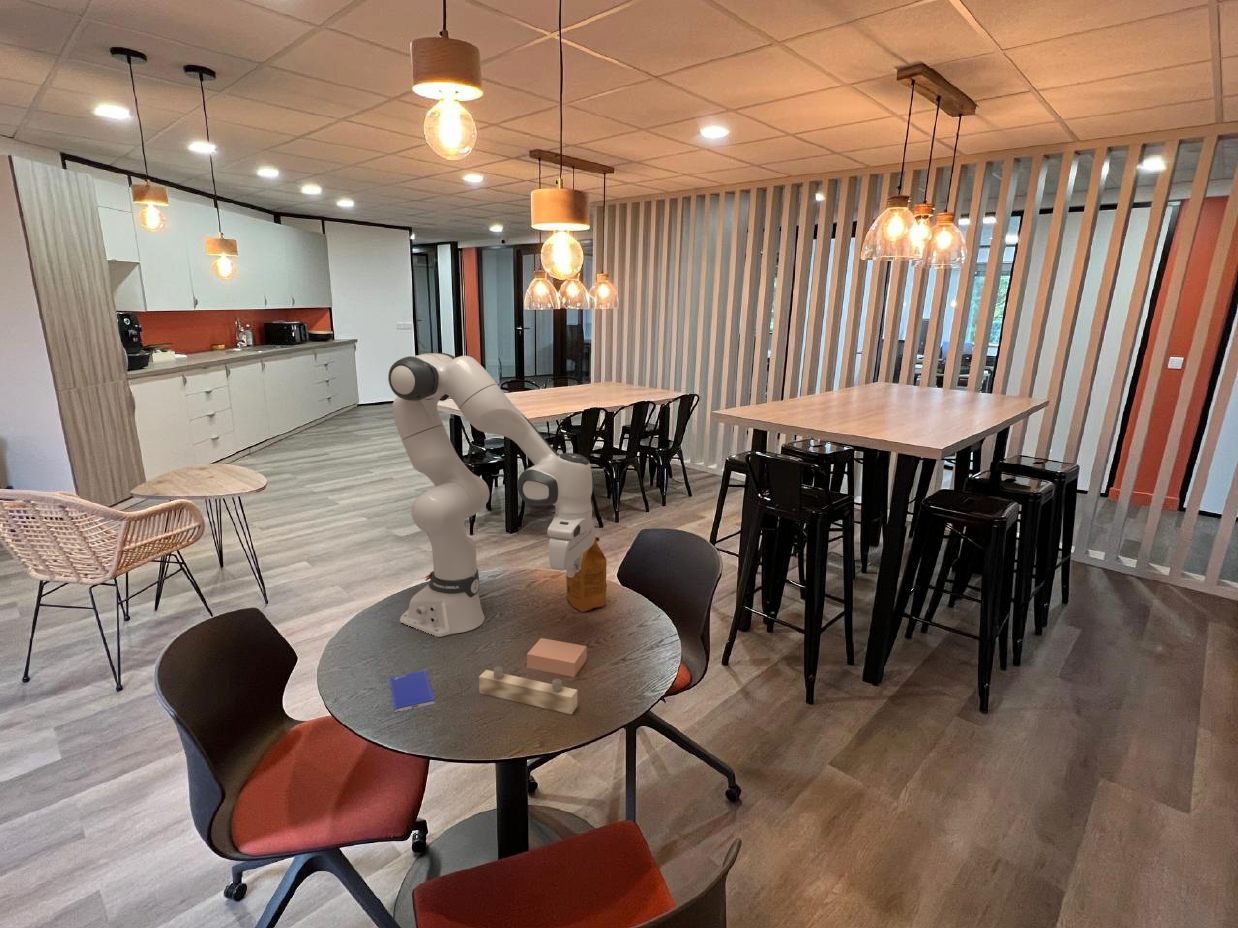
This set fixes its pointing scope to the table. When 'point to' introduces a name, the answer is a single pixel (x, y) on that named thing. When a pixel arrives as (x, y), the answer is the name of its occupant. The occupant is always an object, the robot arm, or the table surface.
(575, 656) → the terracotta block
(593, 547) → the coffee package
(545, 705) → the stop bar
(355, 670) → the table surface
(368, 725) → the table surface
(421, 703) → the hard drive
